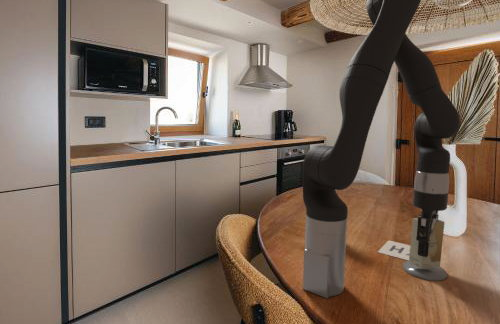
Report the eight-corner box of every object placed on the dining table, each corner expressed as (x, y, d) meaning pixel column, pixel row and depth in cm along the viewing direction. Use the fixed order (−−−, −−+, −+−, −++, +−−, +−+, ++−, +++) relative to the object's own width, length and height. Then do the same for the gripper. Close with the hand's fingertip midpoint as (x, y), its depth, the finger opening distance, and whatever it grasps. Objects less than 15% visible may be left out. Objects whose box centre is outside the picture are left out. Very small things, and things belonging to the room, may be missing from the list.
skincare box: (421, 270, 75) (425, 223, 73) (408, 262, 79) (411, 218, 77) (441, 267, 76) (445, 221, 75) (427, 259, 80) (431, 216, 79)
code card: (422, 264, 81) (422, 264, 81) (377, 252, 89) (377, 251, 89) (430, 250, 90) (430, 250, 90) (388, 240, 98) (388, 240, 98)
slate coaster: (444, 285, 71) (444, 283, 71) (398, 272, 77) (398, 269, 77) (449, 269, 78) (449, 267, 78) (407, 258, 85) (407, 256, 85)
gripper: (444, 196, 67) (438, 265, 69) (451, 186, 78) (446, 246, 80) (408, 191, 72) (403, 256, 74) (419, 183, 83) (415, 239, 85)
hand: (425, 250), depth 77 cm, fingers closed on skincare box, 7 cm apart
